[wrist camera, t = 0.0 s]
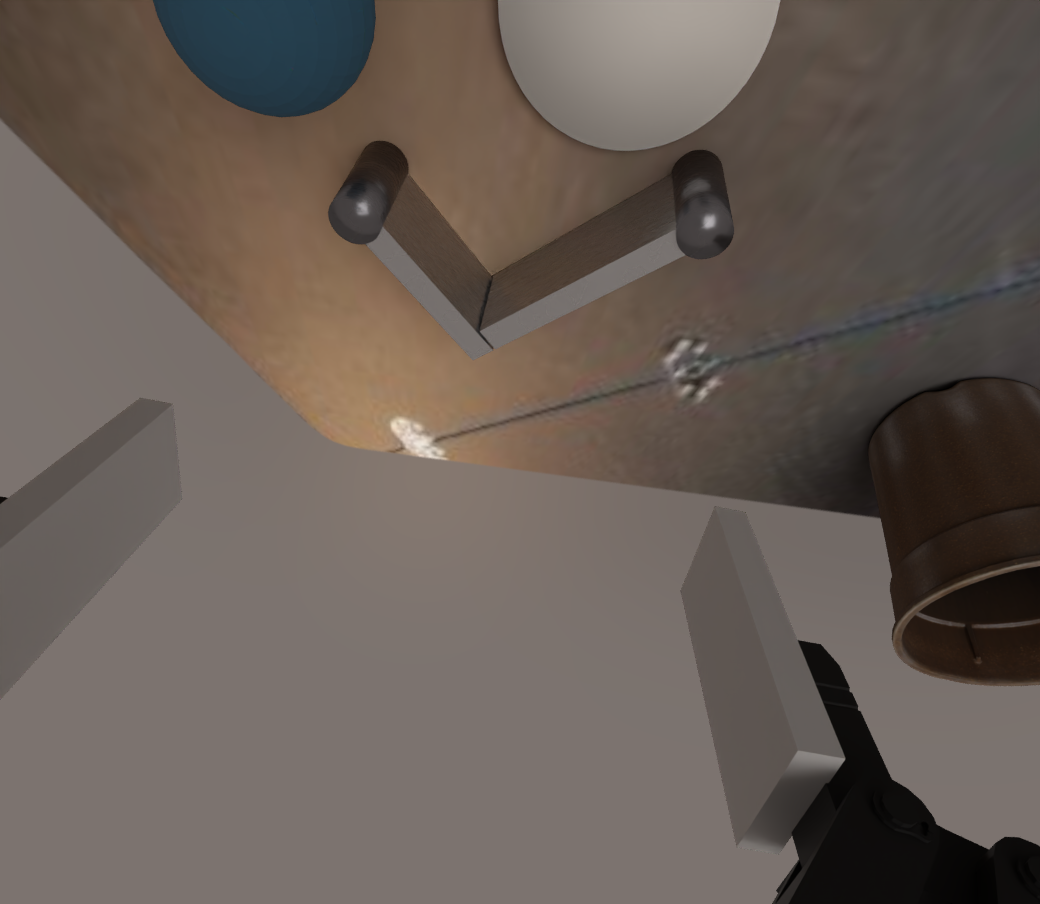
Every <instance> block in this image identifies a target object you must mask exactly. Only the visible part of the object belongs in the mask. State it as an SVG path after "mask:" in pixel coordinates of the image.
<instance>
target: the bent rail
mask: <svg viewBox="0 0 1040 904" xmlns="http://www.w3.org/2000/svg"><path fill="white" fill-rule="evenodd" d="M328 215H329V220H330V223H331V225H332V227H333V229H334V230H335V231H336V233H337V234H338V235H339V236H341V237H342V238H343V239H345V240H347V241H349V242H351V243H355V244H366V245H367V246H368V247H369V249H370V250H371V251H372V252H373V253H374V254H375V255H376V256H377V257H378V258H379V259H380V260H381V262H382V263H383V264H384V265H385V266H386V267H387V268H388V269H389V270H390V271H391V272H392V273H393V274H394V276H395V277H396V278H397V279H398V280H399V281H400V282H401V283H402V284H403V285H404V286H405V287H406V289H407V290H408V291H409V292H410V293H411V294H412V295H413V296H414V297H415V298H416V299H417V300H418V302H419V303H420V304H421V305H422V306H423V307H424V308H425V309H426V310H427V311H428V312H429V313H430V314H431V316H432V317H433V318H434V319H435V320H436V321H437V322H438V323H439V324H440V325H441V326H442V327H443V329H444V330H445V331H446V332H447V333H448V334H449V335H450V336H451V337H452V338H453V339H454V340H455V342H456V343H457V344H458V345H459V346H460V347H461V348H462V349H463V350H464V351H465V352H466V353H467V354H468V356H469V357H470V358H471V359H472V360H475V359H477V358H479V357H481V356H483V355H485V354H487V353H489V352H491V351H493V347H494V348H495V349H497V348H499V347H501V346H503V345H505V344H507V343H509V342H511V341H513V340H515V339H517V338H519V337H521V336H523V335H525V334H527V333H529V332H531V331H533V330H535V329H537V328H539V327H541V326H543V325H545V324H547V323H549V322H551V321H553V320H555V319H557V318H559V317H561V316H563V315H565V314H567V313H569V312H571V311H574V310H576V309H578V308H580V307H582V306H584V305H586V304H588V303H590V302H592V301H594V300H596V299H598V298H600V297H602V296H604V295H606V294H608V293H610V292H612V291H614V290H616V289H618V288H620V287H622V286H624V285H626V284H628V283H630V282H632V281H634V280H636V279H638V278H640V277H642V276H644V275H646V274H648V273H650V272H652V271H654V270H656V269H658V268H660V267H662V266H664V265H666V264H668V263H670V262H672V261H674V260H676V259H678V258H681V257H683V256H685V255H687V256H689V257H691V258H695V259H707V258H711V257H714V256H716V255H718V254H720V253H721V252H723V251H724V250H725V249H726V248H727V247H728V246H729V244H730V243H731V241H732V238H733V235H734V226H733V221H732V215H731V210H730V205H729V199H728V194H727V189H726V183H725V178H724V173H723V167H722V164H721V161H720V160H719V158H718V157H717V156H716V155H715V154H713V153H712V152H709V151H706V150H696V151H692V152H689V153H687V154H686V155H684V156H683V157H681V158H680V159H679V160H678V162H677V163H676V165H675V166H674V169H673V172H672V174H671V175H669V176H667V177H666V178H664V179H662V180H660V181H658V182H657V183H655V184H653V185H651V186H650V187H648V188H646V189H644V190H643V191H641V192H639V193H637V194H636V195H634V196H632V197H630V198H629V199H627V200H625V201H623V202H621V203H620V204H618V205H616V206H614V207H613V208H611V209H609V210H607V211H606V212H604V213H602V214H600V215H599V216H597V217H595V218H593V219H592V220H590V221H588V222H586V223H584V224H583V225H581V226H579V227H577V228H576V229H574V230H572V231H570V232H569V233H567V234H565V235H563V236H562V237H560V238H558V239H556V240H555V241H553V242H551V243H549V244H547V245H546V246H544V247H542V248H540V249H539V250H537V251H535V252H533V253H532V254H530V255H528V256H526V257H525V258H523V259H521V260H519V261H518V262H516V263H514V264H512V265H510V266H509V267H507V268H505V269H503V270H502V271H500V272H498V273H496V274H495V275H494V276H493V278H492V277H491V275H490V274H489V273H488V272H487V271H486V269H485V268H484V267H483V266H482V264H481V263H480V262H479V261H478V259H477V258H476V257H475V256H474V255H473V253H472V252H471V251H470V250H469V248H468V247H467V246H466V245H465V243H464V242H463V241H462V240H461V239H460V237H459V236H458V235H457V234H456V232H455V231H454V230H453V229H452V227H451V226H450V225H449V224H448V223H447V221H446V220H445V219H444V218H443V216H442V215H441V214H440V213H439V211H438V210H437V209H436V208H435V207H434V205H433V204H432V203H431V202H430V200H429V199H428V198H427V197H426V195H425V194H424V193H423V192H422V191H421V189H420V188H419V187H418V186H417V184H416V183H415V182H414V181H413V179H412V178H411V177H410V176H409V175H408V162H407V160H406V157H405V156H404V154H403V153H402V151H401V150H400V149H399V148H398V147H396V146H395V145H393V144H391V143H389V142H385V141H375V142H372V143H370V144H369V145H368V146H367V147H366V148H365V149H364V151H363V152H362V154H361V156H360V157H359V159H358V161H357V162H356V164H355V165H354V167H353V169H352V170H351V172H350V174H349V175H348V177H347V179H346V180H345V182H344V183H343V185H342V187H341V188H340V190H339V192H338V193H337V195H336V196H335V198H334V200H333V201H332V203H331V205H330V207H329V211H328Z"/></svg>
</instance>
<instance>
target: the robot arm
mask: <svg viewBox="0 0 1040 904" xmlns="http://www.w3.org/2000/svg"><path fill="white" fill-rule="evenodd" d="M181 492H182V491H181V481H180V471H179V460H178V450H177V440H176V431H175V419H174V409H173V404H171V403H165V402H160V401H155V400H150V399H144V398H139V399H138V400H137V401H136V402H134V403H133V404H131V405H130V406H129V407H127V408H126V409H125V410H124V411H122V412H121V413H120V414H118V415H117V416H116V417H115V418H113V419H112V420H110V421H109V422H108V423H106V424H105V425H104V426H103V427H101V428H100V429H99V430H97V431H96V432H95V433H93V434H92V435H91V436H89V437H88V438H87V439H85V440H84V441H83V442H81V443H80V444H79V445H77V446H76V447H75V448H73V449H72V450H71V451H70V452H68V453H67V454H66V455H64V456H63V457H62V458H60V459H59V460H58V461H56V462H55V463H54V464H52V465H51V466H50V467H48V468H47V469H46V470H45V471H43V472H42V473H41V474H39V475H38V476H37V477H35V478H34V479H33V480H31V481H30V482H29V483H28V484H26V485H25V486H23V487H22V488H21V489H19V490H18V491H17V492H16V493H15V494H13V495H12V496H10V497H9V498H6V497H0V699H1V698H2V697H3V696H4V695H5V694H6V693H7V692H8V691H9V690H10V688H11V687H12V686H13V685H14V684H15V683H16V682H17V681H18V680H19V679H20V678H21V676H22V675H23V674H24V673H25V672H26V671H27V670H28V668H30V666H31V665H32V664H33V663H34V662H35V661H36V660H37V659H38V658H39V657H40V655H41V654H42V653H43V652H44V651H45V650H46V649H47V648H48V646H49V645H50V644H51V643H52V642H53V641H54V640H55V639H56V638H57V637H58V636H59V634H60V633H61V632H62V631H63V630H64V629H65V628H66V627H67V626H68V625H69V623H70V622H71V621H72V620H73V619H74V618H75V616H77V615H78V613H79V612H80V611H81V610H82V609H83V608H84V607H85V606H86V604H87V603H88V602H89V601H90V600H91V599H92V598H93V597H94V596H95V595H96V594H97V592H98V591H99V590H100V589H101V588H102V587H103V586H104V585H105V584H106V583H107V581H108V580H109V579H110V578H111V577H112V576H113V575H114V574H115V573H116V572H117V570H118V569H119V568H120V567H121V566H122V565H123V564H124V563H125V561H126V560H127V559H128V558H129V557H130V556H131V555H132V554H133V553H134V552H135V551H136V549H137V548H138V547H139V546H140V545H141V544H142V543H143V542H144V541H145V539H146V538H147V537H148V536H149V535H150V534H151V533H152V532H153V531H154V530H155V528H156V527H157V526H158V525H159V524H160V523H161V522H162V521H163V520H164V519H165V517H166V516H167V515H168V514H169V513H170V512H171V511H172V510H173V508H174V507H175V506H176V505H177V504H178V503H179V502H180V501H181V500H182V493H181ZM681 595H682V599H683V604H684V609H685V613H686V618H687V622H688V627H689V632H690V636H691V641H692V645H693V650H694V654H695V658H696V664H697V668H698V673H699V677H700V682H701V686H702V691H703V696H704V700H705V704H706V709H707V713H708V718H709V723H710V727H711V732H712V737H713V741H714V746H715V750H716V755H717V759H718V764H719V769H720V773H721V778H722V782H723V786H724V791H725V796H726V801H727V805H728V810H729V814H730V819H731V823H732V828H733V832H734V837H735V842H736V846H737V847H738V848H744V849H750V850H756V851H762V852H768V853H774V854H779V853H780V852H781V851H782V849H783V848H784V846H785V845H786V843H787V842H788V840H789V839H790V838H791V836H793V840H794V843H795V846H796V850H797V853H798V857H799V860H798V862H797V863H796V864H795V866H794V867H793V868H792V870H791V871H790V873H789V874H788V875H787V877H786V878H785V879H784V881H783V882H782V883H781V885H780V886H779V887H778V889H777V890H776V891H777V892H778V894H777V896H776V898H775V900H774V901H773V903H772V904H1040V846H1038V845H1036V844H1034V843H1032V842H1029V841H1026V840H1024V839H1021V838H1018V837H1004V838H1003V839H1001V840H1000V841H998V842H996V843H995V844H994V845H993V846H992V848H990V849H986V848H984V847H982V846H980V845H978V844H976V843H974V842H972V841H969V840H967V839H965V838H963V837H961V836H959V835H956V834H954V833H952V832H950V831H948V830H945V829H944V828H942V827H940V826H938V825H937V824H936V822H935V820H934V817H933V816H932V814H931V813H930V812H929V810H928V809H927V808H926V806H925V805H924V803H923V802H922V801H921V800H920V799H919V798H918V797H916V796H915V795H914V794H913V793H912V792H911V791H910V790H909V789H907V788H906V787H904V786H902V785H900V784H899V783H897V782H895V781H894V780H892V779H891V777H890V774H889V773H888V770H887V768H886V766H885V764H884V761H883V759H882V757H881V755H880V753H879V751H878V748H877V746H876V744H875V742H874V740H873V738H872V735H871V733H870V731H869V729H868V727H867V724H866V722H865V720H864V718H863V716H862V714H861V712H860V711H858V705H857V703H856V701H855V698H854V696H853V694H852V693H851V692H850V691H849V688H850V687H849V685H848V683H847V681H846V679H845V677H844V674H843V672H842V670H841V668H840V666H839V665H838V664H837V662H836V661H835V660H834V659H833V658H832V657H831V655H830V654H829V653H828V652H827V651H826V650H825V649H824V647H823V646H822V645H821V644H816V643H810V642H805V641H799V640H797V638H796V635H795V633H794V630H793V628H792V625H791V623H790V621H789V618H788V616H787V613H786V611H785V608H784V606H783V603H782V601H781V598H780V596H779V593H778V591H777V588H776V586H775V584H774V581H773V579H772V576H771V574H770V572H769V569H768V566H767V564H766V561H765V559H764V556H763V554H762V552H761V549H760V547H759V545H758V542H757V539H756V537H755V534H754V532H753V529H752V527H751V525H750V522H749V520H748V517H747V515H746V512H742V511H737V510H731V509H726V508H721V507H716V506H715V507H714V510H713V512H712V515H711V517H710V520H709V522H708V525H707V527H706V530H705V532H704V535H703V537H702V539H701V542H700V544H699V547H698V549H697V552H696V554H695V556H694V559H693V561H692V564H691V566H690V569H689V571H688V573H687V576H686V578H685V581H684V583H683V586H682V588H681Z"/></svg>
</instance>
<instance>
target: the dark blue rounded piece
mask: <svg viewBox="0 0 1040 904" xmlns="http://www.w3.org/2000/svg"><path fill="white" fill-rule="evenodd" d="M153 2H154V5H155V9H156V12H157V15H158V18H159V20H160V22H161V24H162V27H163V29H164V31H165V33H166V36H167V37H168V39H169V41H170V42H171V44H172V45H173V47H174V49H175V50H176V52H177V54H178V55H179V56H180V58H181V59H182V60H183V61H184V63H185V64H186V65H187V66H188V68H189V69H190V70H191V71H192V72H193V73H194V74H195V75H196V76H197V77H198V78H199V79H200V80H201V81H202V82H203V83H204V84H205V85H206V86H207V87H209V88H210V89H212V90H213V91H214V92H216V93H217V94H218V95H220V96H221V97H222V98H224V99H226V100H228V101H230V102H232V103H234V104H235V105H237V106H239V107H242V108H245V109H248V110H251V111H254V112H257V113H260V114H263V115H269V116H276V117H291V116H300V115H305V114H309V113H312V112H315V111H318V110H322V109H324V108H325V107H327V106H328V105H330V104H332V103H333V102H335V101H336V100H338V99H339V98H340V97H341V96H342V95H344V94H345V92H346V91H347V90H348V89H349V88H350V87H351V86H352V85H353V84H354V83H355V82H356V80H357V78H358V76H359V75H360V73H361V71H362V69H363V68H364V66H365V63H366V61H367V59H368V56H369V52H370V49H371V46H372V43H373V38H374V29H375V20H376V17H375V2H374V0H153Z"/></svg>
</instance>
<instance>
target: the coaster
mask: <svg viewBox="0 0 1040 904" xmlns="http://www.w3.org/2000/svg"><path fill="white" fill-rule="evenodd" d="M779 4H780V0H498V11H499V25H500V31H501V37H502V43H503V46H504V50H505V53H506V57H507V60H508V63H509V65H510V68H511V70H512V73H513V75H514V77H515V79H516V81H517V83H518V85H519V86H520V88H521V90H522V92H523V93H524V95H525V96H526V97H527V99H528V100H529V102H530V103H531V104H532V106H533V107H534V108H535V109H536V110H537V111H538V112H539V113H540V114H541V115H542V116H543V118H544V119H546V120H547V121H548V122H549V123H550V124H552V125H553V126H554V127H555V128H557V129H558V130H560V131H561V132H563V133H565V134H566V135H568V136H569V137H571V138H573V139H576V140H578V141H580V142H582V143H585V144H588V145H591V146H595V147H598V148H603V149H609V150H618V151H634V150H643V149H649V148H653V147H658V146H662V145H665V144H668V143H670V142H673V141H676V140H678V139H680V138H682V137H684V136H686V135H688V134H690V133H692V132H694V131H696V130H697V129H699V128H700V127H701V126H703V125H704V124H706V123H707V122H709V121H710V120H711V119H713V118H714V117H715V116H716V115H717V114H718V113H720V112H721V111H722V110H723V109H724V108H725V107H726V106H727V105H728V104H729V103H730V102H731V101H732V100H733V99H734V98H735V96H736V95H737V94H738V93H739V92H740V90H741V89H742V88H743V86H744V85H745V84H746V82H747V81H748V80H749V78H750V76H751V75H752V73H753V72H754V70H755V68H756V67H757V65H758V63H759V62H760V59H761V57H762V55H763V53H764V51H765V49H766V47H767V44H768V42H769V39H770V36H771V34H772V31H773V28H774V25H775V22H776V17H777V13H778V8H779Z"/></svg>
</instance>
